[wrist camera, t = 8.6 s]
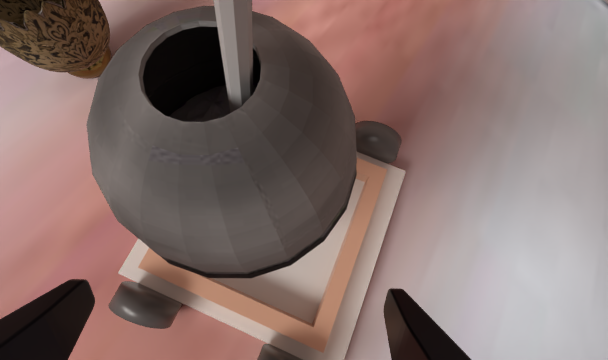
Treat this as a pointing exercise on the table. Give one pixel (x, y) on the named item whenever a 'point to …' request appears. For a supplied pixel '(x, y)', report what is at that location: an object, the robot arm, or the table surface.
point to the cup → (57, 34)
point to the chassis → (285, 273)
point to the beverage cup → (223, 141)
